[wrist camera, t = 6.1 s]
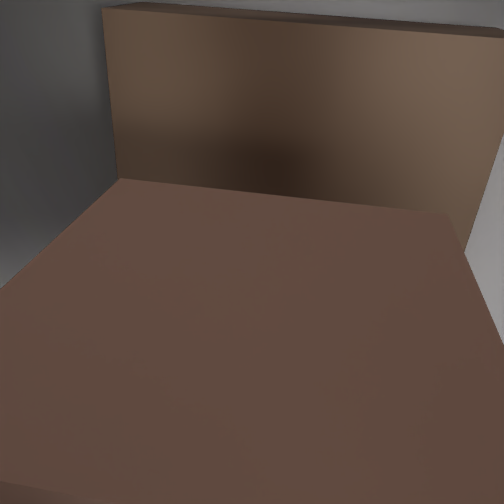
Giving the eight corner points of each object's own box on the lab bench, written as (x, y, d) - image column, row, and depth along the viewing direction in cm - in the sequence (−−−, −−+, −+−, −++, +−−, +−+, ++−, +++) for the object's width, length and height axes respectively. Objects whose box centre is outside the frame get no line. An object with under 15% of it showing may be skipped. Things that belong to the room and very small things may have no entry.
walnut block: (492, 26, 12) (533, 40, 9) (411, 310, 17) (424, 372, 14) (148, 1, 13) (101, 7, 10) (162, 276, 18) (131, 327, 15)
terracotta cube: (447, 214, 7) (612, 599, 3) (383, 438, 9) (415, 816, 5) (120, 177, 8) (-171, 448, 3) (143, 398, 10) (-3, 710, 6)
